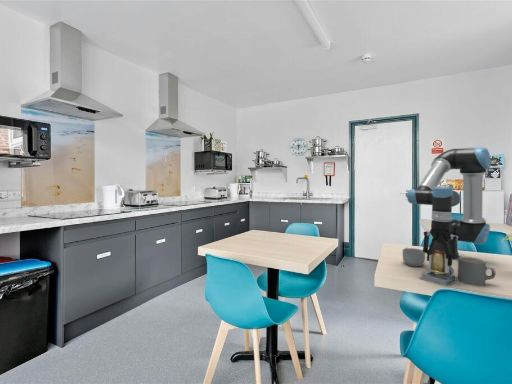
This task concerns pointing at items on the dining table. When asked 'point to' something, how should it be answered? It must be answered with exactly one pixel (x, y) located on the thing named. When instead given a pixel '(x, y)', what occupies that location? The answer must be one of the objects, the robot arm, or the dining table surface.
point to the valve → (439, 262)
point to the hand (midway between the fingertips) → (438, 270)
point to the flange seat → (440, 277)
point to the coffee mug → (473, 271)
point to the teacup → (413, 256)
